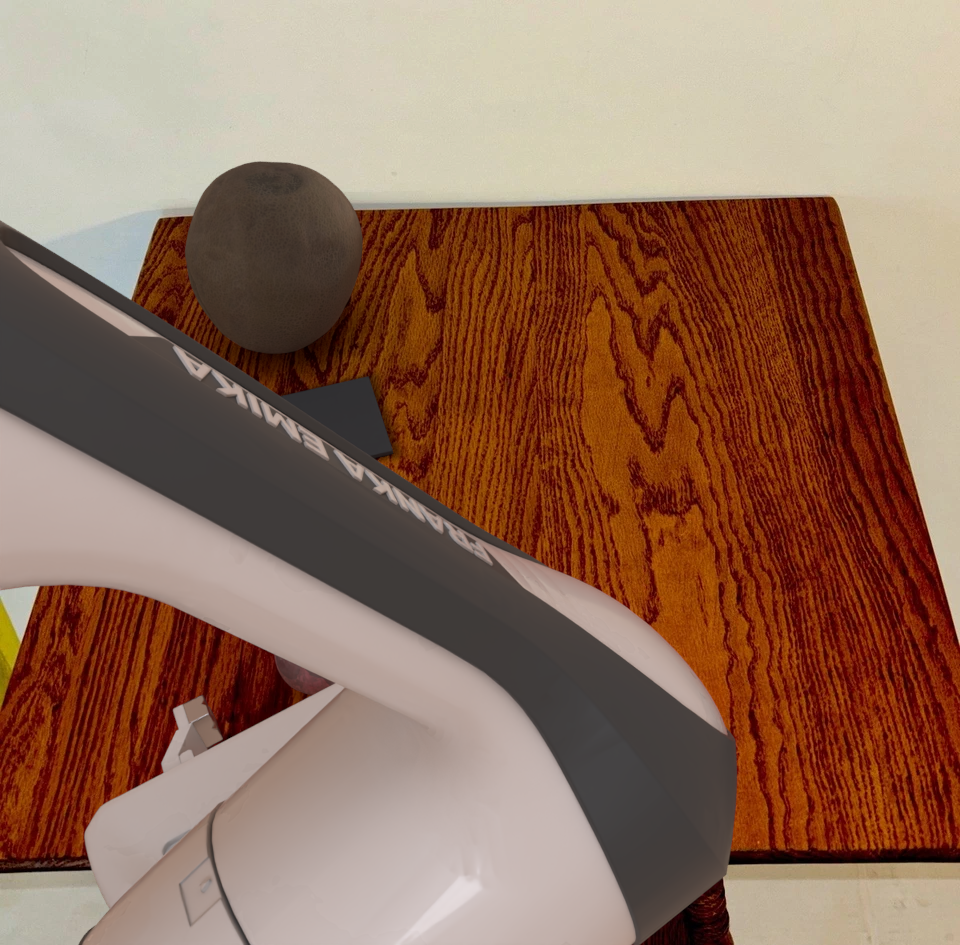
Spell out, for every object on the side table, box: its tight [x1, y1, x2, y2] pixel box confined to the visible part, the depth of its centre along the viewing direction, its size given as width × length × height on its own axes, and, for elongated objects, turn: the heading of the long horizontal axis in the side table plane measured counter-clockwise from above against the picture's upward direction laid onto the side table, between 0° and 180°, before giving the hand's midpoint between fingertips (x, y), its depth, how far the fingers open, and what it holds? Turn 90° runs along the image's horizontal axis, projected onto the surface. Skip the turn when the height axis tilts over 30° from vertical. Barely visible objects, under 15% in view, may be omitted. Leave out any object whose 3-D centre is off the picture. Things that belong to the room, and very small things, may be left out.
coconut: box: [184, 160, 364, 355], centre depth 85 cm, size 14×14×15 cm
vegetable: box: [273, 654, 335, 696], centre depth 62 cm, size 6×6×10 cm
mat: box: [279, 376, 394, 459], centre depth 81 cm, size 12×9×1 cm
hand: (285, 663), depth 50 cm, fingers open, 8 cm apart
